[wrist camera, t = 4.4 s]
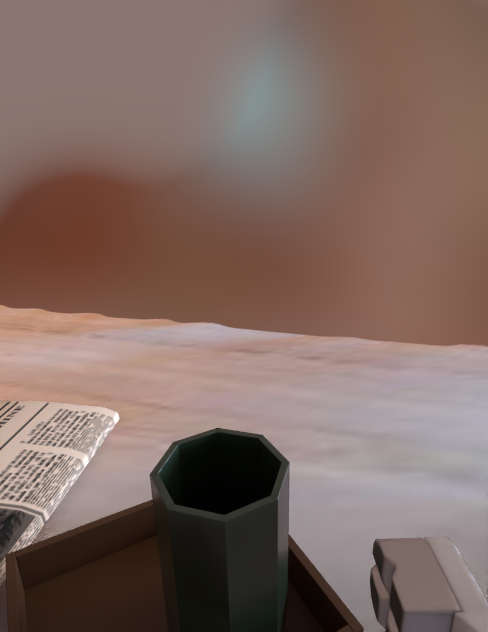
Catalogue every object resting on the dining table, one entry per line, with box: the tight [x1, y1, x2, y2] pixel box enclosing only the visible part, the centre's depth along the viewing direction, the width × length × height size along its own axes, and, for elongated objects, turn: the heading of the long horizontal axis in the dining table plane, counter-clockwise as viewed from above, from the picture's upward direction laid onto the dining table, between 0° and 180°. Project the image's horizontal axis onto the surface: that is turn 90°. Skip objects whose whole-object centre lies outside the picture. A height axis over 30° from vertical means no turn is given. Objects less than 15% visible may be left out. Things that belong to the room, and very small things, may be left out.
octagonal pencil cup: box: [150, 428, 290, 632], centre depth 25 cm, size 7×7×12 cm
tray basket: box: [5, 499, 364, 632], centre depth 27 cm, size 17×15×4 cm
